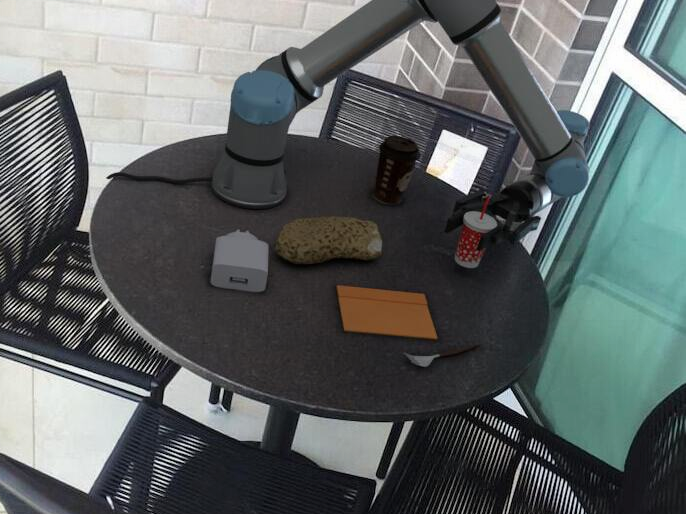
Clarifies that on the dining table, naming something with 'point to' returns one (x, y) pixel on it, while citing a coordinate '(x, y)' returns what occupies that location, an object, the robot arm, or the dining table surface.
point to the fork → (438, 355)
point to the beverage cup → (473, 237)
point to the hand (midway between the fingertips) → (464, 234)
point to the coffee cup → (394, 169)
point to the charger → (240, 262)
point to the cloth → (385, 312)
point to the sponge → (328, 240)
